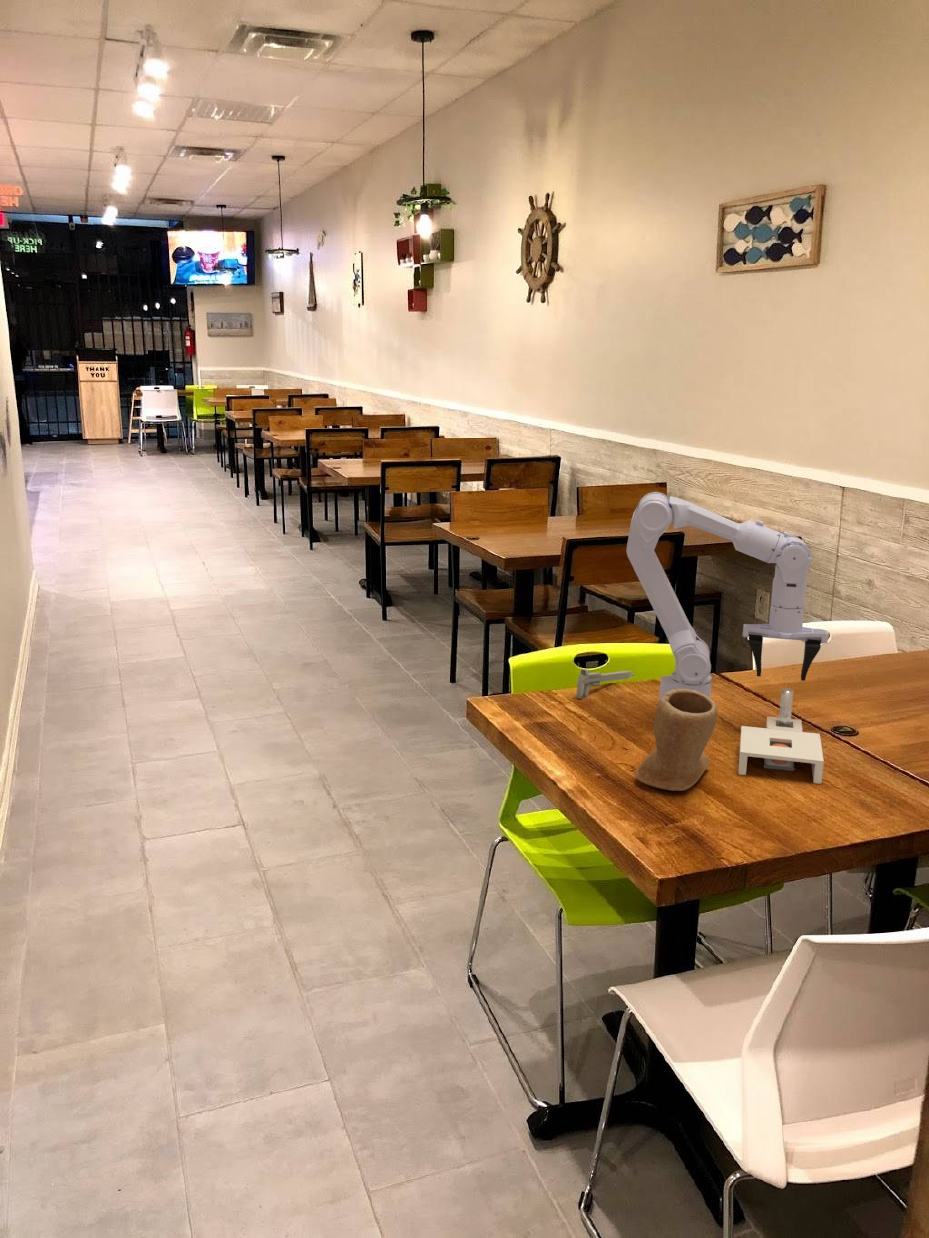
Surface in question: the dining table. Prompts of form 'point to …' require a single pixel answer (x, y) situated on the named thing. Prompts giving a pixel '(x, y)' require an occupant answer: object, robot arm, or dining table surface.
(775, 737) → the white slotted stand
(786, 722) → the stylus
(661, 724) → the stone cup
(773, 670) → the dining table surface
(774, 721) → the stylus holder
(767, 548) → the robot arm
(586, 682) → the caliper
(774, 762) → the button
